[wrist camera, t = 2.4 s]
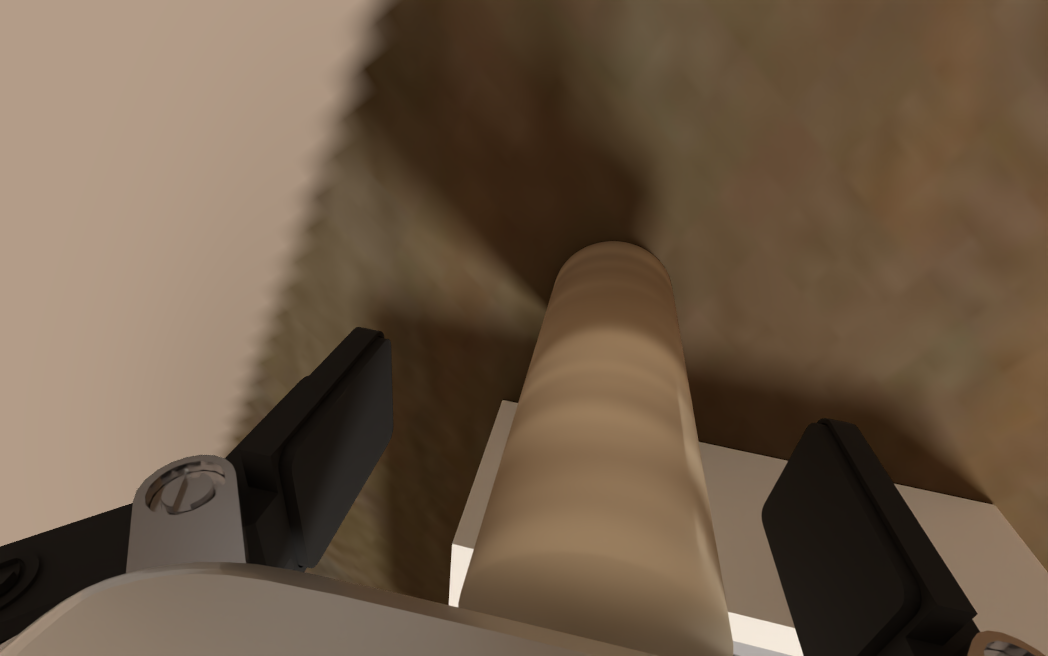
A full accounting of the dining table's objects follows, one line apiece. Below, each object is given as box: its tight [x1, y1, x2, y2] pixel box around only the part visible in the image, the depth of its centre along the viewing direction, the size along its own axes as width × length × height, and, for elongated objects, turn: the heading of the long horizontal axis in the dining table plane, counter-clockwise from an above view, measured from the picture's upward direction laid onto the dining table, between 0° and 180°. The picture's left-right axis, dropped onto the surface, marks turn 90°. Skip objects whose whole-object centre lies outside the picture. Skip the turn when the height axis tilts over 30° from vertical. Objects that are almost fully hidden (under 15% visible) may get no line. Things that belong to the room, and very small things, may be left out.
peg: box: [458, 241, 733, 656], centre depth 11 cm, size 4×4×10 cm
